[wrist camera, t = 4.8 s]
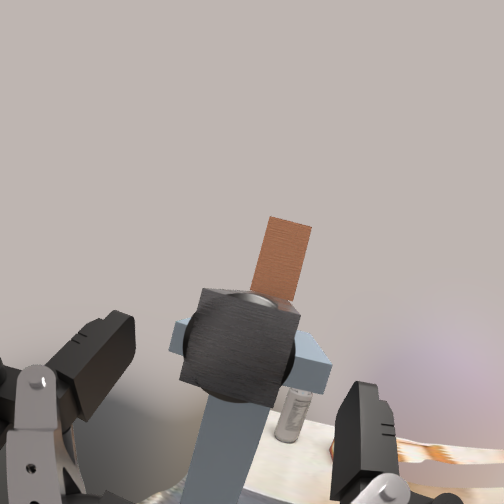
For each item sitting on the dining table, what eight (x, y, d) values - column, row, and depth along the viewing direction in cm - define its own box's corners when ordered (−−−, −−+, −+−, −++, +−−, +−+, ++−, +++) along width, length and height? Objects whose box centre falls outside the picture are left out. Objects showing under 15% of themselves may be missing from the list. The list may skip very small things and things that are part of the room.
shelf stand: (161, 514, 32) (212, 306, 36) (243, 539, 31) (318, 335, 34) (117, 583, 17) (161, 316, 20) (226, 618, 15) (347, 368, 18)
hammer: (244, 320, 32) (270, 223, 33) (283, 331, 32) (309, 232, 33) (163, 380, 9) (248, 87, 10) (286, 417, 9) (361, 112, 10)
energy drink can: (291, 433, 75) (308, 383, 76) (300, 444, 69) (319, 391, 70) (270, 432, 73) (287, 380, 75) (278, 443, 68) (296, 389, 69)
